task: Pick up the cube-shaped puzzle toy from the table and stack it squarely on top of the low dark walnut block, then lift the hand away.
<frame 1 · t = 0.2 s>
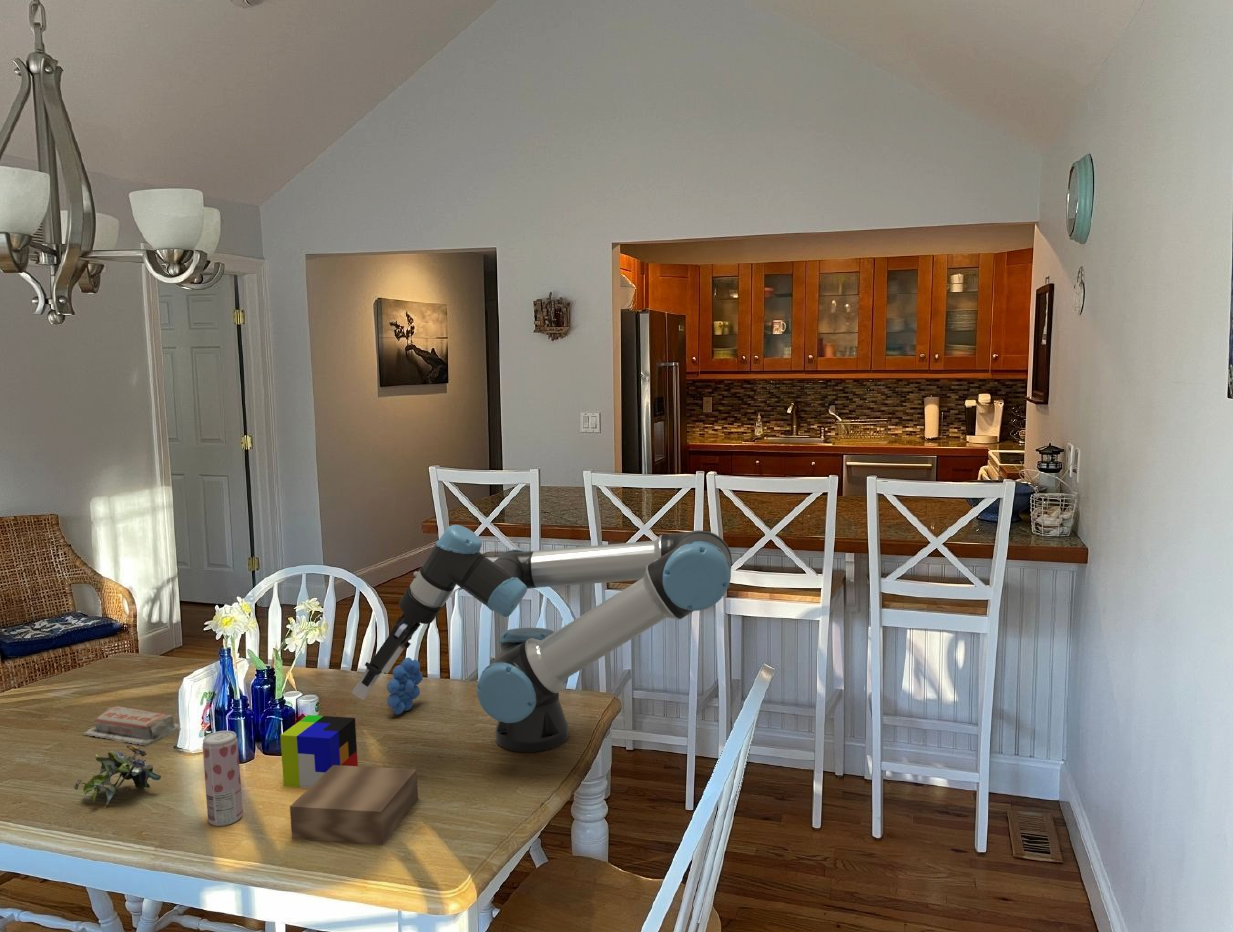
hand: (370, 682, 188), 16 cm above the table, tool tilted 35°, fingers open, 13 cm apart
puzzle toy: (321, 777, 182), on the table
walnut block: (357, 819, 165), on the table
beverage can: (225, 819, 166), on the table
packaged product: (133, 735, 206), on the table
grapes: (402, 711, 215), on the table
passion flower: (120, 799, 175), on the table
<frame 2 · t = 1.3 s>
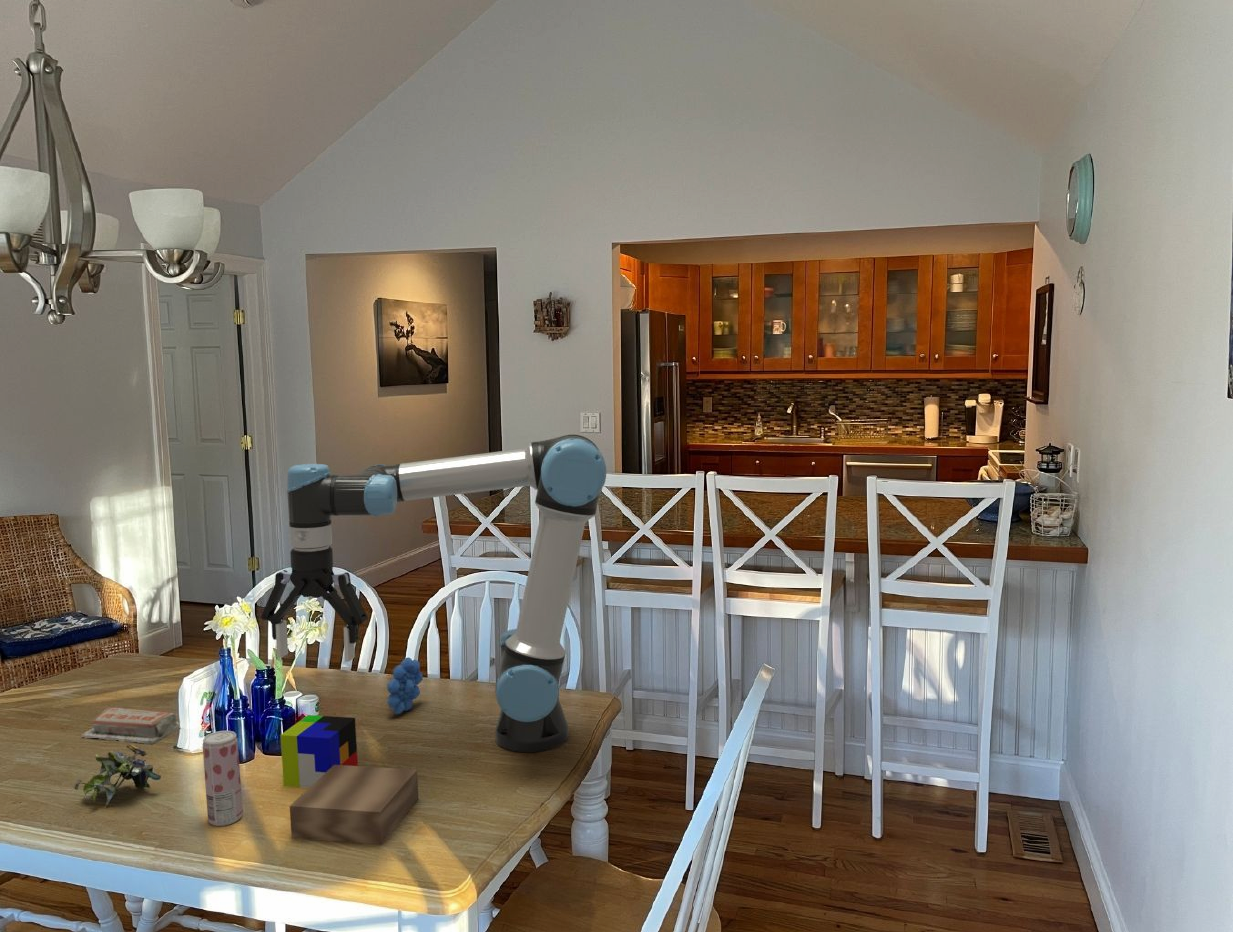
hand: (316, 657, 180), 23 cm above the table, tool pointing down, fingers open, 13 cm apart
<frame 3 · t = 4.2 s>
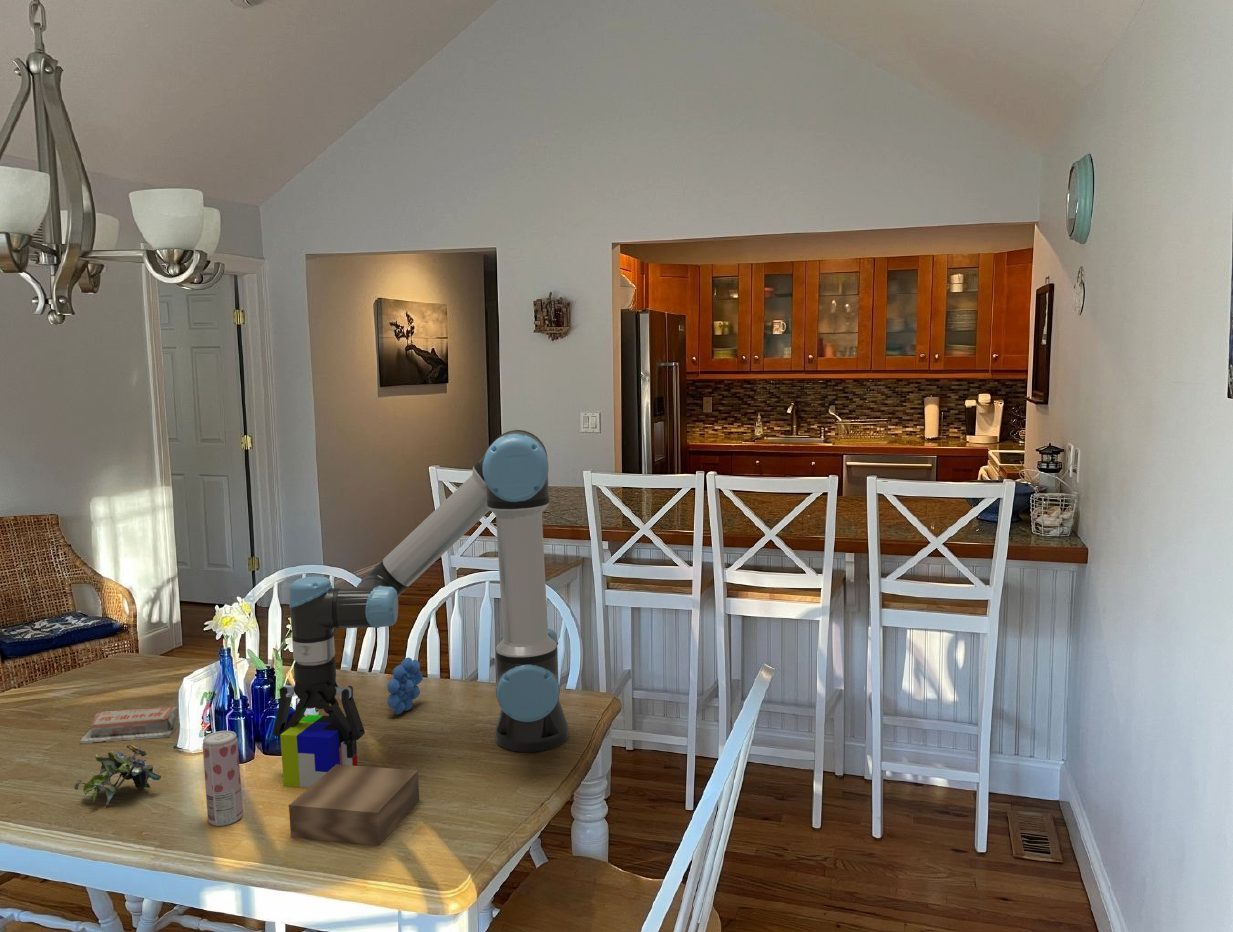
hand: (321, 771, 182), 1 cm above the table, tool pointing down, fingers closed on puzzle toy, 10 cm apart
puzzle toy: (321, 776, 182), on the table, touching gripper
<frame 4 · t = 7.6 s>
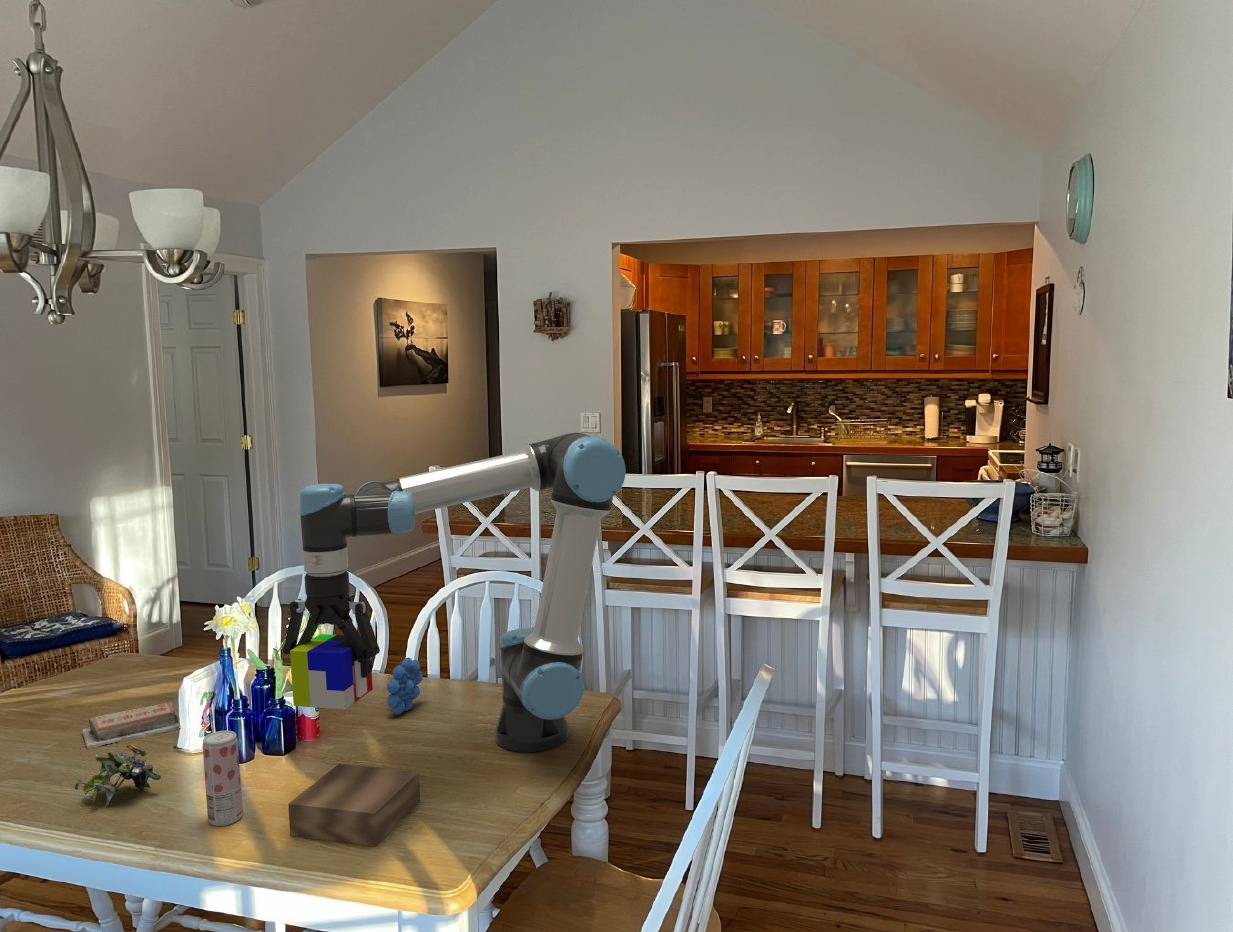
hand: (333, 692, 171), 20 cm above the table, tool pointing down, fingers closed on puzzle toy, 10 cm apart
puzzle toy: (334, 698, 171), point 19 cm above the table, touching gripper
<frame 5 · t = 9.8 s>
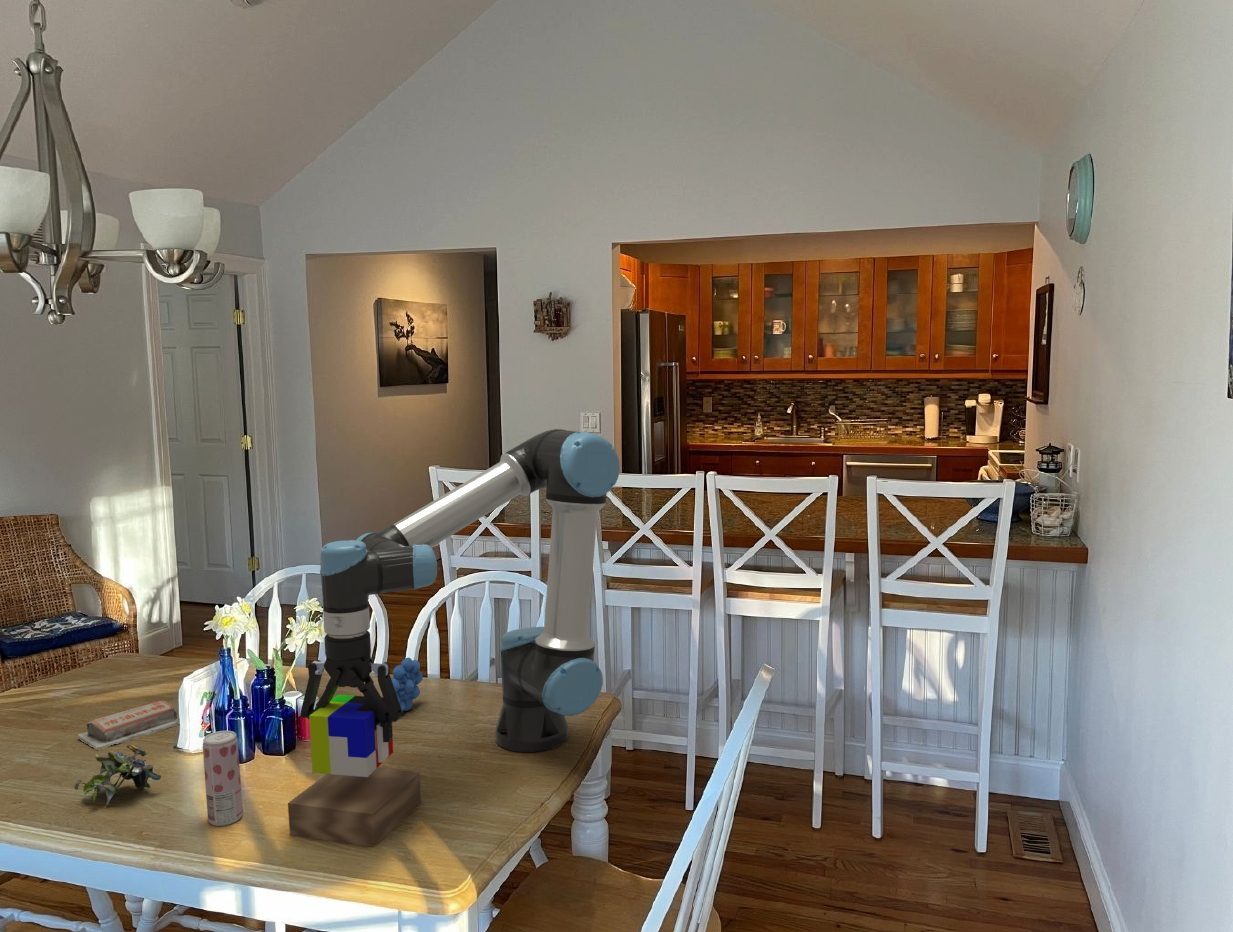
hand: (353, 757, 164), 11 cm above the table, tool pointing down, fingers closed on puzzle toy, 10 cm apart
puzzle toy: (353, 763, 164), point 10 cm above the table, touching gripper
when the fingers open (8 cm above the table, at t = 11.3 s): puzzle toy drops 2 cm, resting on walnut block.
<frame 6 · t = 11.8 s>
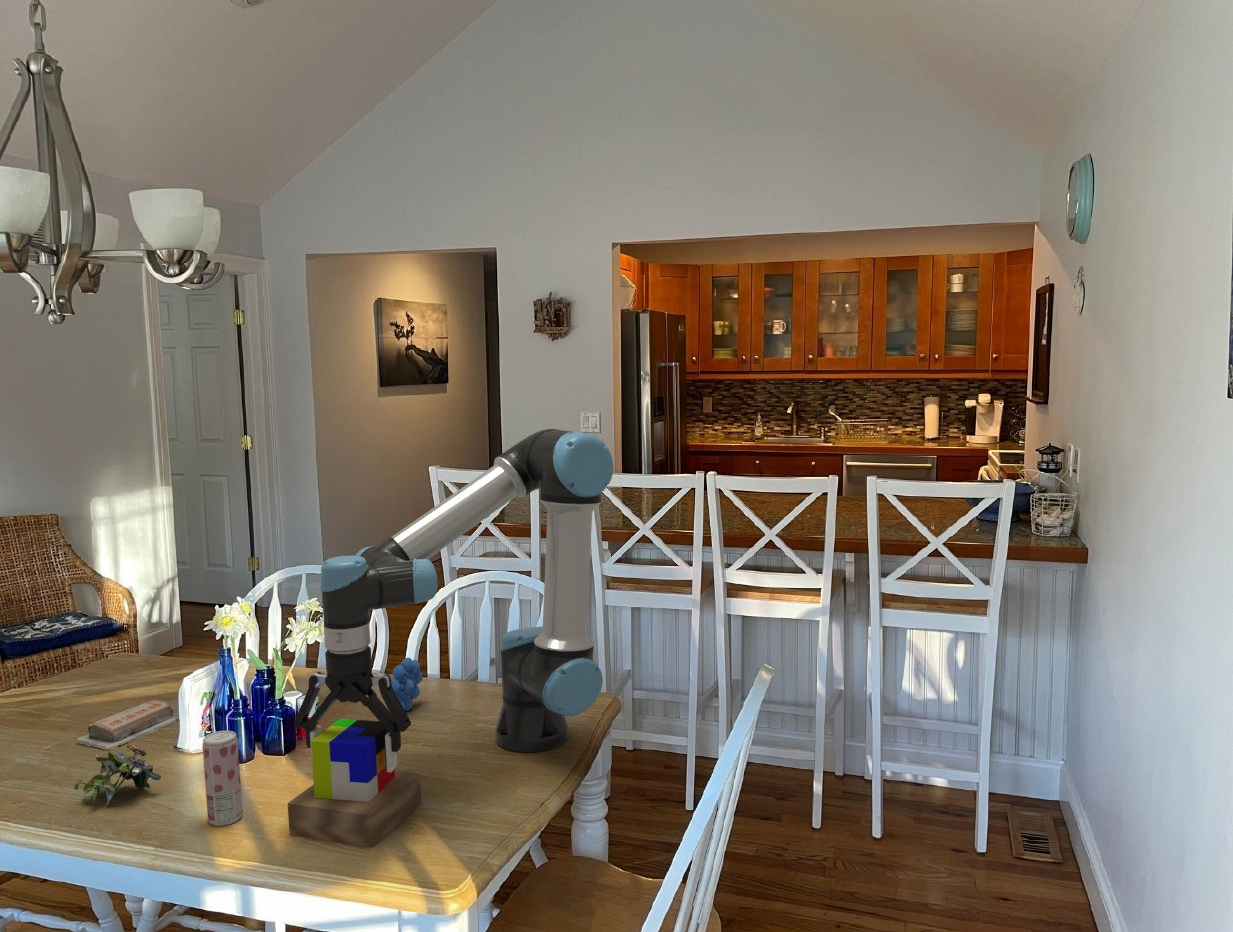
hand: (354, 767, 164), 9 cm above the table, tool pointing down, fingers open, 13 cm apart
puzzle toy: (355, 787, 165), point 5 cm above the table, touching walnut block
walnut block: (357, 820, 165), on the table, touching puzzle toy
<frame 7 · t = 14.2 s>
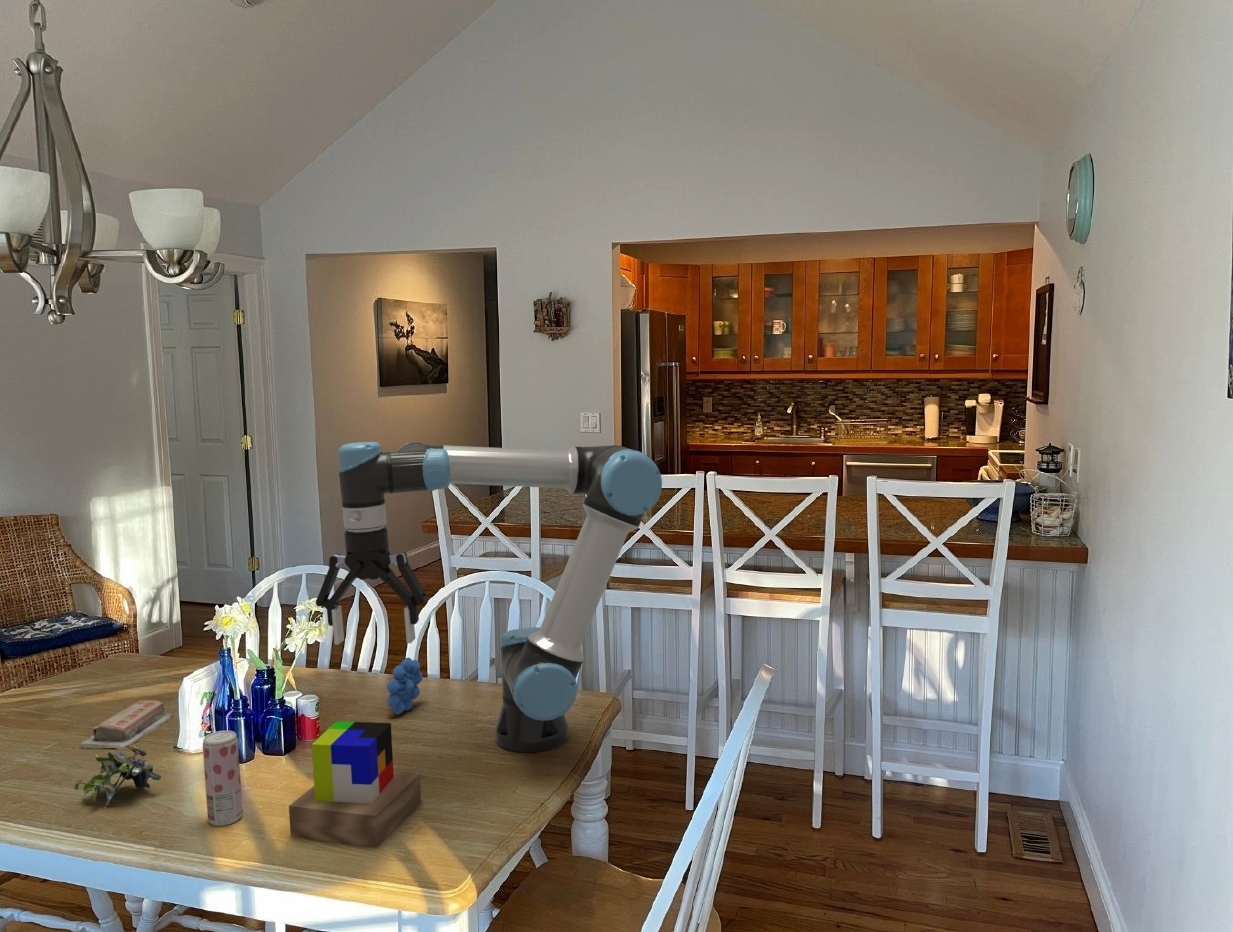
hand: (375, 641, 175), 28 cm above the table, tool pointing down, fingers open, 13 cm apart
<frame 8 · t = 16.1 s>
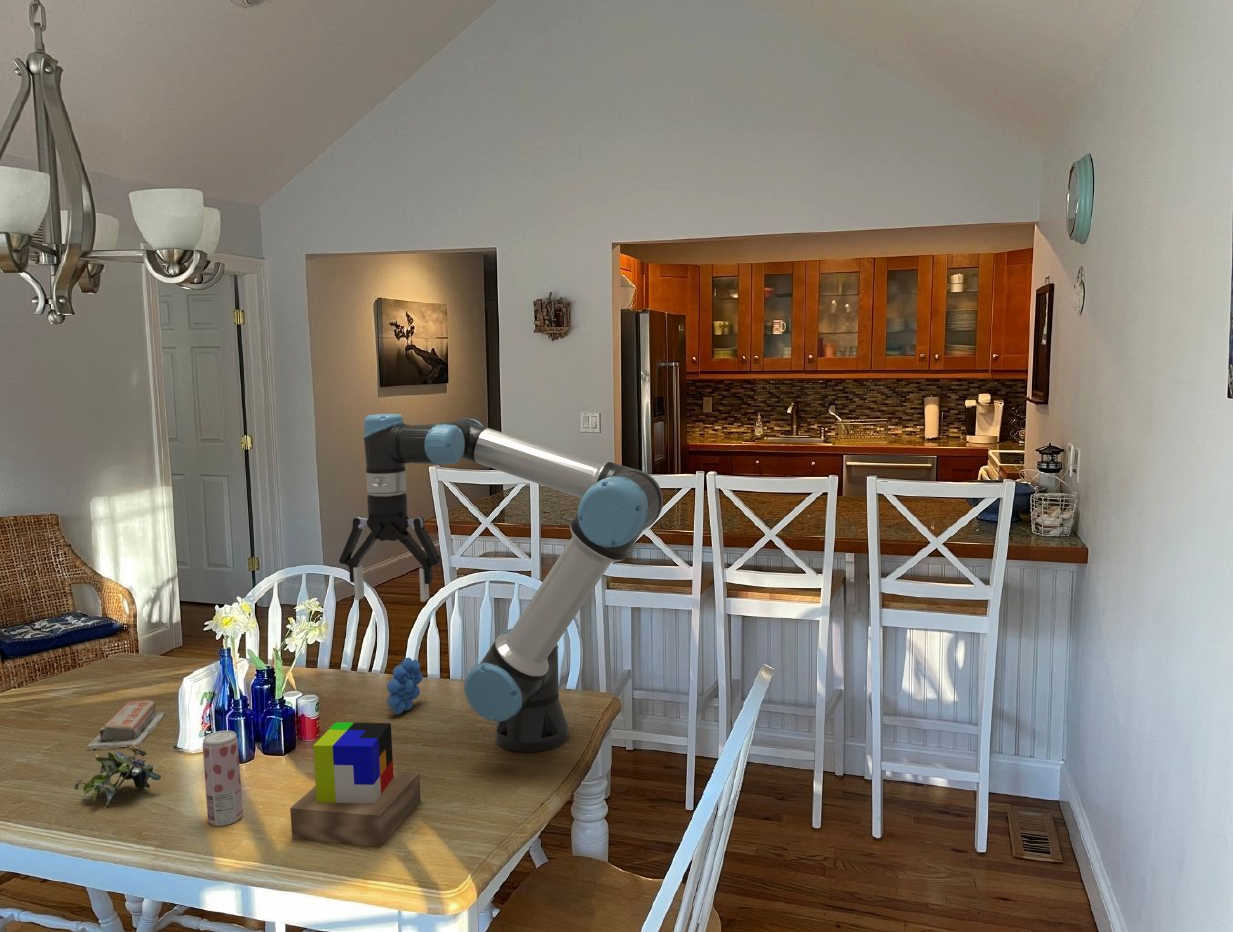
hand: (392, 599, 189), 32 cm above the table, tool pointing down, fingers open, 13 cm apart
at the end: puzzle toy inside the target area on the walnut block (0.4 cm from its centre), point 5.8 cm above the walnut block's base; puzzle toy tilted 0°; puzzle toy touching walnut block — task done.
